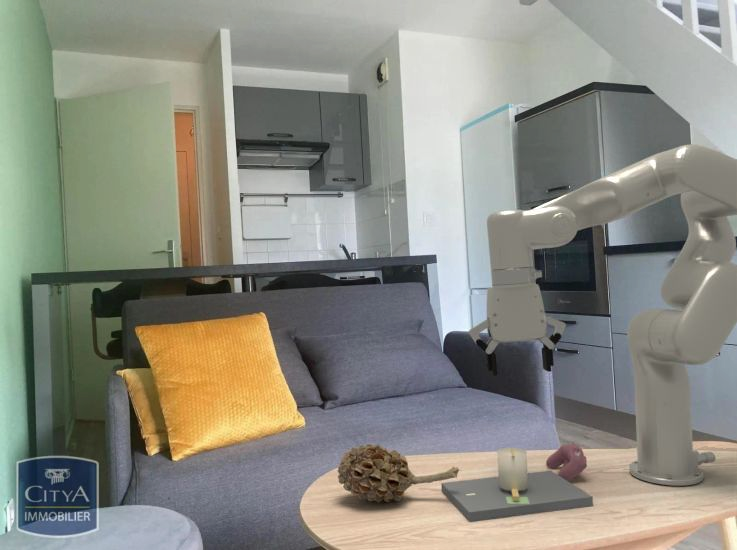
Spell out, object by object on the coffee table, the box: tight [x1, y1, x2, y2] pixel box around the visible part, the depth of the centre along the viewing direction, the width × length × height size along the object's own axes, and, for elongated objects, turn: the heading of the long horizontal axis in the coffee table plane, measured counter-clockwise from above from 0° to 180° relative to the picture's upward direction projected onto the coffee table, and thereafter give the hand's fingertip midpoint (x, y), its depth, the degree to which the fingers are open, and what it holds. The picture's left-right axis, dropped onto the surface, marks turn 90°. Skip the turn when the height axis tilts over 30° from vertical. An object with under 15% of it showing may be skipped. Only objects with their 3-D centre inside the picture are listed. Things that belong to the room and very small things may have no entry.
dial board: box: [440, 470, 594, 522], centre depth 103 cm, size 22×14×2 cm, turn 101°
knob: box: [497, 447, 529, 501], centre depth 102 cm, size 8×5×7 cm, turn 170°
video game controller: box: [545, 442, 588, 482], centre depth 114 cm, size 10×5×7 cm, turn 177°
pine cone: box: [337, 443, 462, 503], centre depth 105 cm, size 22×10×10 cm, turn 89°
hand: (520, 372), depth 107 cm, fingers open, 9 cm apart
